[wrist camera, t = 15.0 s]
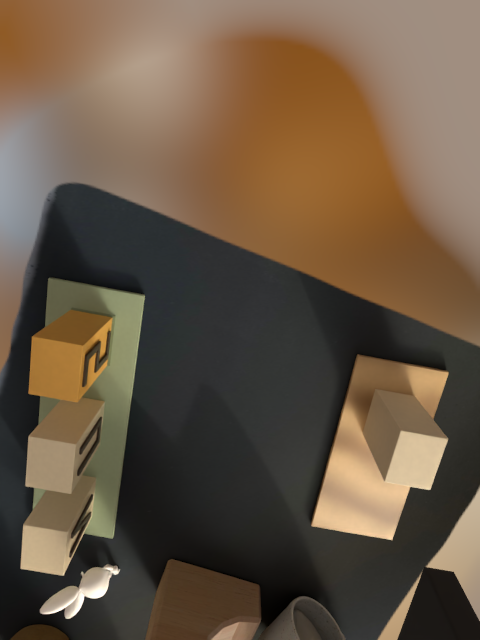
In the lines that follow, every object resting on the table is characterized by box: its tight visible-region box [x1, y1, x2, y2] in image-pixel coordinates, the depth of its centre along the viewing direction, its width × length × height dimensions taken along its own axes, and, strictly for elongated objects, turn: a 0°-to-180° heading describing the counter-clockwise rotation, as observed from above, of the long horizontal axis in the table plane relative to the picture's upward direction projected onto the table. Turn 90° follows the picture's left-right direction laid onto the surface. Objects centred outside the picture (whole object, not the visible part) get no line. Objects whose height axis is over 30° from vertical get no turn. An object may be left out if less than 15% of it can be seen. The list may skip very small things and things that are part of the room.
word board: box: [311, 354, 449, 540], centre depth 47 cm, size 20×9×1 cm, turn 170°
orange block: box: [29, 310, 112, 402], centre depth 40 cm, size 5×4×8 cm
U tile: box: [26, 397, 105, 494], centre depth 43 cm, size 5×4×8 cm
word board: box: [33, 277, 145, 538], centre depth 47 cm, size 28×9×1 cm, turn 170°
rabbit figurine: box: [40, 564, 120, 619], centre depth 51 cm, size 6×4×8 cm
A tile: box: [363, 389, 448, 490], centre depth 42 cm, size 5×4×8 cm
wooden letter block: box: [21, 475, 96, 576], centre depth 45 cm, size 5×4×8 cm
